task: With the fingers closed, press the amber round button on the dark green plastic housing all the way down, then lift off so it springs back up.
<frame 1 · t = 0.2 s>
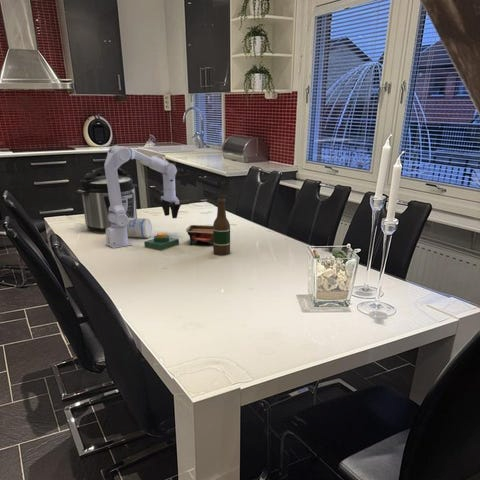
hand: (170, 216, 232), 10 cm above the table, tool pointing down, fingers open, 7 cm apart
button box: (162, 245, 220), on the table
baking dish: (205, 243, 226), on the table
beer bottle: (221, 253, 210), on the table
button: (161, 235, 218), point 5 cm above the table, slide at 0.1 cm
pressure cooker: (113, 229, 250), on the table
supplement tub: (149, 228, 231), point 5 cm above the table
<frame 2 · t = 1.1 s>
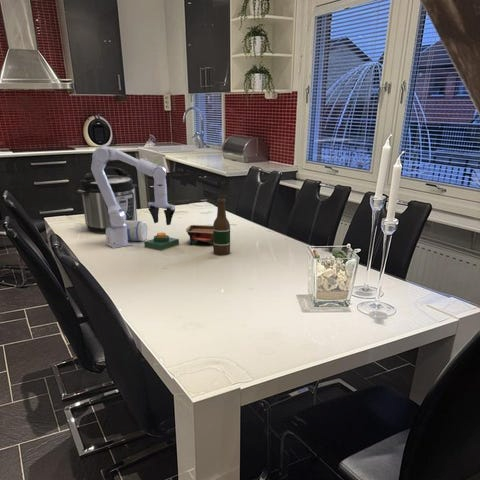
hand: (162, 223, 218), 10 cm above the table, tool pointing down, fingers open, 7 cm apart
supplement tub: (145, 231, 225), point 5 cm above the table
everything else where it was.
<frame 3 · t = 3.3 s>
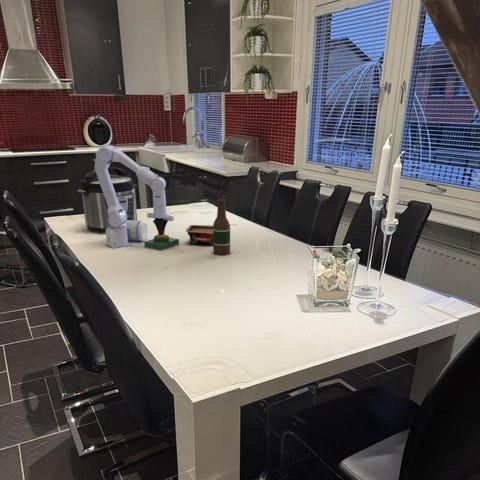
hand: (161, 234, 218), 5 cm above the table, tool pointing down, fingers closed, pressing on button
button: (161, 236, 218), point 4 cm above the table, slide at -0.4 cm, touching gripper
everything else where it was.
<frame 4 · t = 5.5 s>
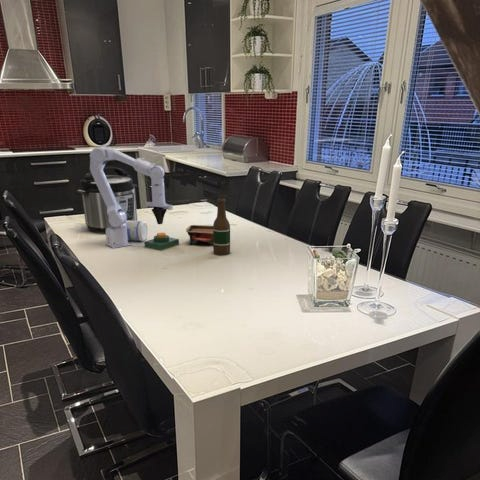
hand: (160, 223, 216), 10 cm above the table, tool pointing down, fingers closed
button: (161, 235, 218), point 5 cm above the table, slide at 0.1 cm
everything else where it was.
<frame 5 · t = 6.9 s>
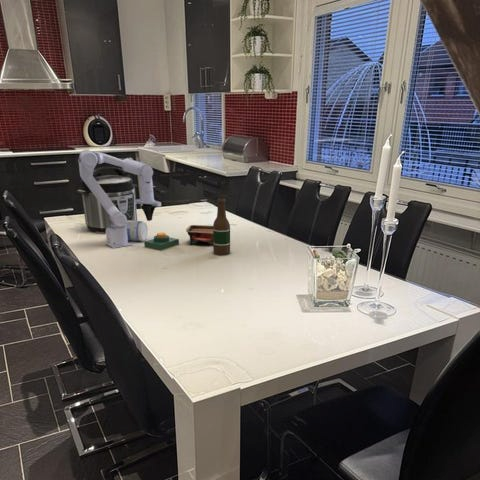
hand: (149, 220, 222), 10 cm above the table, tool pointing down, fingers closed
nothing on the table moved.
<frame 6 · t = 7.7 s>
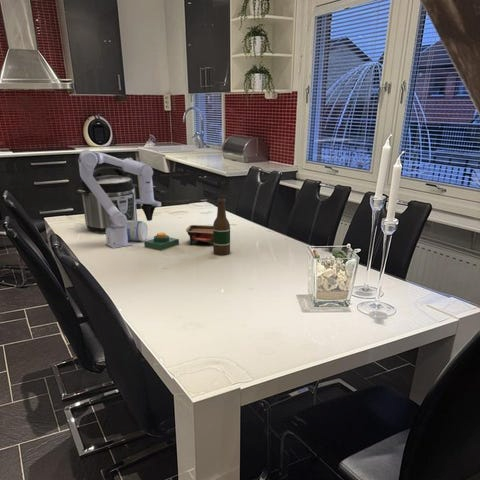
hand: (149, 220, 222), 10 cm above the table, tool pointing down, fingers closed
nothing on the table moved.
at the end: button pushed in 1.2 cm at the most during the clip, back to where it started at the end; button slide at 0.1 cm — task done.
